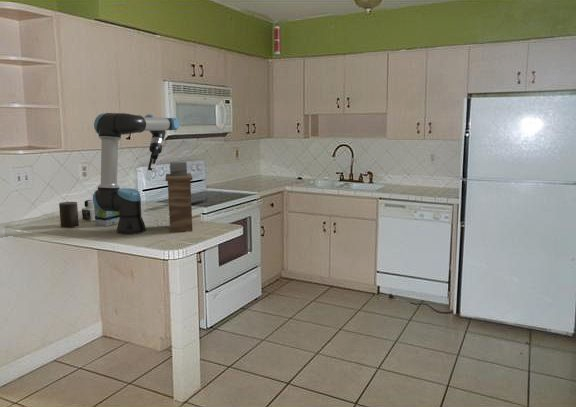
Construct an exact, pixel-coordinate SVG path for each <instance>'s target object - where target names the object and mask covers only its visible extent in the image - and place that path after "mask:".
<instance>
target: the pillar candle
mask: <svg viewBox="0 0 576 407" xmlns="http://www.w3.org/2000/svg"><path fill="white" fill-rule="evenodd" d="M58 205H59V206H58V207H59V208H58V209H59V221H60V222H59V223H60V228H62V229H63V228H64V229H71V228H77V227H79V226H80V222H79V221H80V220H79V210H78V209H79V207H78V202H77V201H64V202H59V203H58Z"/></svg>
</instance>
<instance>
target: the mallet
mask: <svg viewBox="0 0 576 407" xmlns="http://www.w3.org/2000/svg"><path fill="white" fill-rule="evenodd" d="M187 164H188V163H187V161H169V170H170V171H169V174H170V176H184V175H187V173H188V169H187V168H188V166H187Z"/></svg>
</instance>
